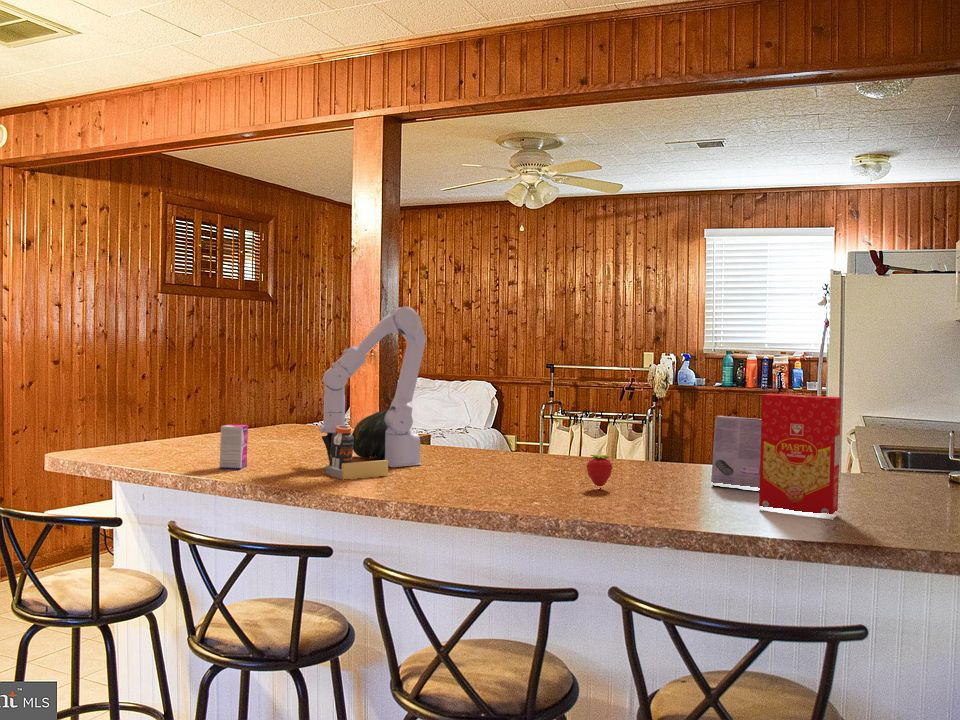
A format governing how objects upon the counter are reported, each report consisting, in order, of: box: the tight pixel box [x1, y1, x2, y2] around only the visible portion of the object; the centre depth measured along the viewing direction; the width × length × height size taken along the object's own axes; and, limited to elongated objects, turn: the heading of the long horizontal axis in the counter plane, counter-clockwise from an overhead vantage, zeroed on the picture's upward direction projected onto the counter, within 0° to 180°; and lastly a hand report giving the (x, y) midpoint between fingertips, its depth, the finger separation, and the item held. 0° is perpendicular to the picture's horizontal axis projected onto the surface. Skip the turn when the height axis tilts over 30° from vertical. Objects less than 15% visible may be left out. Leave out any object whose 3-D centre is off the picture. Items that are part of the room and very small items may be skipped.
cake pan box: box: [710, 415, 761, 488], centre depth 198 cm, size 19×5×18 cm, turn 59°
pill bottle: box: [328, 425, 354, 470], centre depth 216 cm, size 6×6×11 cm
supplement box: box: [219, 423, 249, 471], centre depth 216 cm, size 6×6×12 cm
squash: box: [351, 410, 388, 460], centre depth 238 cm, size 14×15×15 cm
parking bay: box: [324, 459, 389, 481], centre depth 209 cm, size 12×11×4 cm
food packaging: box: [758, 393, 842, 514], centre depth 171 cm, size 15×5×25 cm, turn 56°
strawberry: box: [586, 449, 613, 487], centre depth 195 cm, size 6×8×10 cm
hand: (333, 461), depth 221 cm, fingers closed
